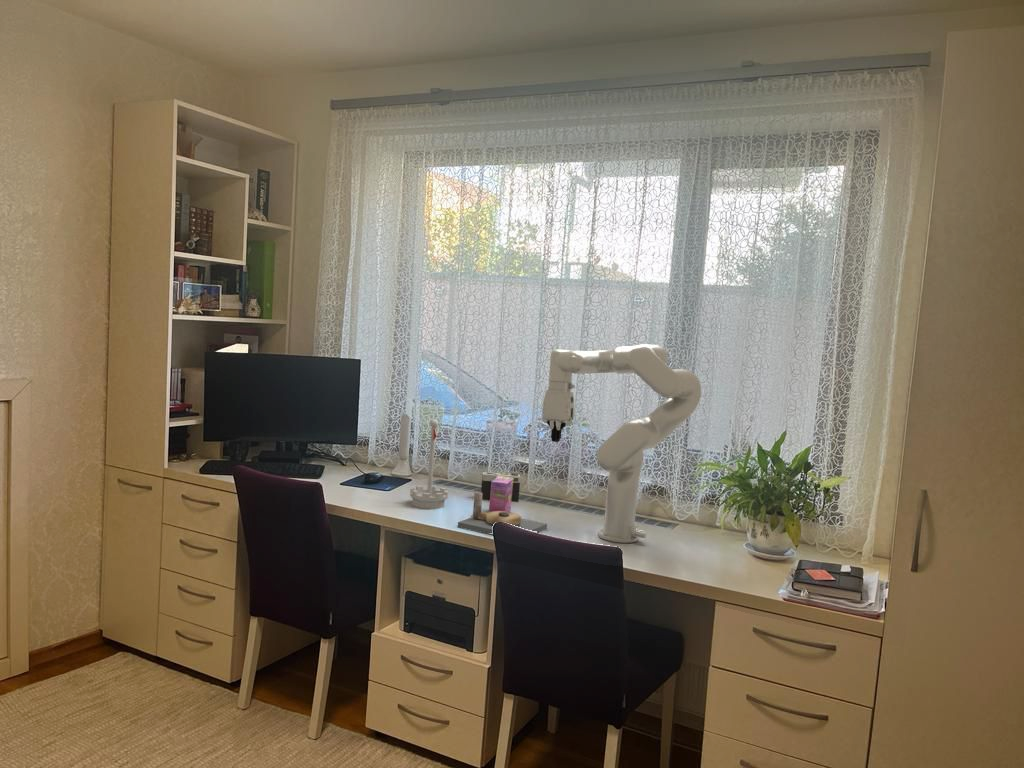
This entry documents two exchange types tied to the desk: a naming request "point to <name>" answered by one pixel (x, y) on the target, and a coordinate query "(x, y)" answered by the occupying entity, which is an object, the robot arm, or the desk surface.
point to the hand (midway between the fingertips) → (555, 441)
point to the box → (501, 494)
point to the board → (487, 527)
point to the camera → (490, 476)
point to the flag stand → (429, 482)
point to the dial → (493, 513)
